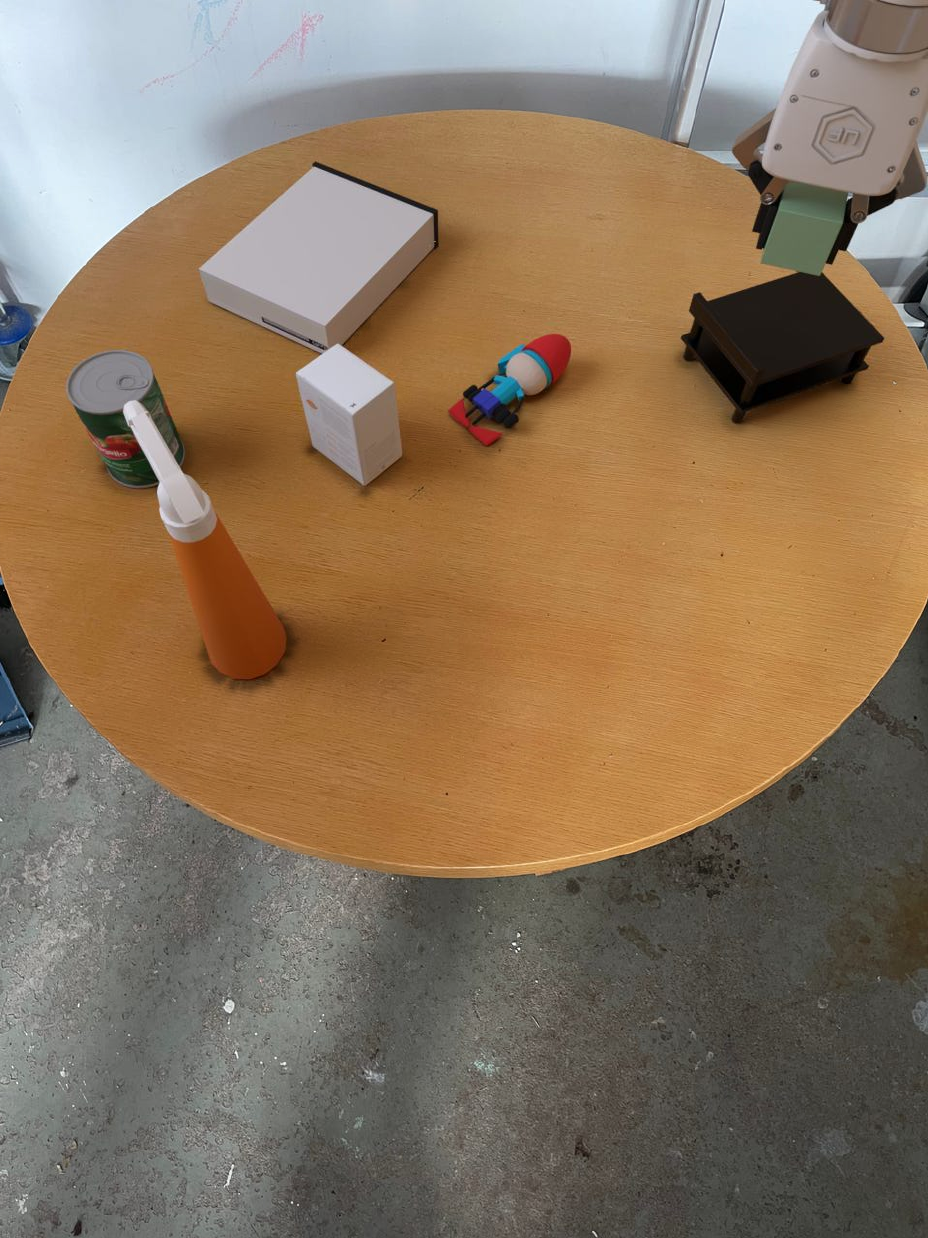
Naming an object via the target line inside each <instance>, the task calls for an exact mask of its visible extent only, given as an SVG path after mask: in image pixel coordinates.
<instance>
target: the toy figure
mask: <svg viewBox="0 0 928 1238" xmlns="http://www.w3.org/2000/svg"><path fill="white" fill-rule="evenodd" d="M571 355H572V345H571V342H570V340H569V339H568V338H567V337H566V336H565V335H563V334H560V333H551V334H544V335H542V336H539V337H537V338H535V339H533V340H532V341H531V342H528V343H527V344H526V345H525V344H522V343H521V344H520V345H518V346H517V347H515V348H513V349H512V350H511V351H510V352H508V353H507V354H505V355H504V356H502V357H500V359H499V360H498V362H497V369H498V373H499V375H498V374H495V376H494V377H492V378H491V379H490V380H489V379H488V381H486V382H485V383H483V384H482V385H481V386H479V387H478V385H476V384H471V385H470V386H469V387H468V388H467V389H465V390H464V391H463V392H462V398H461V399H459V400H458V401H457V402H456V403H454V404H453V405H452V406H451V407H450V408H449V409H448V413H449V414H450V415H451V416H452V417H453V418H454V419H455V420H456V421H457V422H458V423H459V424H461V425H463V426H464V427H466V428H468V430H469V432H470V433H471V434H472V435H473V436H474V438H476V439H477V440H478V441H479V442H480V443H482V444H483V445H484V446H486V447H487V446H489V445H491V444H493V443H494V442H495V441H496V440H497V439H499V438H500V437H501V436H502V435H503V434H504V432H503V431H502V432H500V431H495V430H491V429H487V428H483V427H479V426H477V424H478V423H479V422H480V421H482V420H483V419H484V418H485V417H486V418H488V419H489V420H490V419H492V418H494V419H495V421H496V423H497V424H500V425H503V427H504V428H505V429H507V430H511V429H512V428H513V427H514V426H516V425H517V424H518V423H519V420H520V419H519V418H520V417H519V415H518V414H516V413H519V411H520V409H521V407H522V405H523V403H524V401H525V399H526V398H525V396H532V395H537V394H539V393H541V392H542V391H544V389H547V388H549V386H552V385H553V384H554V383H555V382H556V381H557V380H558V379H559V378H560V377H561V376H562V374H563V373H564V371H565V370H566V368H567V367H568V365H569V362H570V359H571ZM503 374H504V376H502V375H503ZM493 383H494V385H497V386H495V387H494V388H492V390H491V391H489V390H488V389H486V388H488V387H489V386H490V385H492V384H493ZM516 398H517V399H518V401H519V402H518V404H517V406H516V408H515V410H513V411H512V412H511V410H510V409H509V408H508V406H507V405H509V404H510V403H511V402H512V401H513V400H514V399H516ZM465 399H467V401H468V402H470V403H472V405H473V407H472V408H471V409H469V411H467V410H466V408H465ZM475 411H479V412H480V413H481V414H479V416H478V417H476V418H475V419H474V420H473V421H472V422H471V425H470V421H469V417H470V416H471V415H472V414H473V413H474V412H475Z"/></svg>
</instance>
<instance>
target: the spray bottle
mask: <svg viewBox="0 0 928 1238" xmlns="http://www.w3.org/2000/svg"><path fill="white" fill-rule="evenodd" d="M123 413H124V416H125V419H126V421H127V424H128V426H129V427H131V429H132V431H133V433H134V435H135V437H136V439H137V441H138V443H139V445H140V447H141V448H142V450H143V452H144V454H145V455H146V457H147V459H148V461H149V463H150V465H151V467H152V468H153V470H154V472H155V474H156V476H157V478H158V480H159V481H160V483H159V485H157V491H156V494H157V500H158V503H159V510H158V512H159V515H160V518H161V521H162V523H163V525H164V526H165V528H166V530H167V533H168V537H169V540H170V542H171V545H172V548H173V552H174V555H175V557H176V558H175V559H176V561H177V564H178V567H179V570H180V573H181V577H182V579H183V582H184V586H185V588H186V591H187V595H188V597H189V600H190V603H191V607H192V610H193V613H194V615H195V618H196V621H197V624H198V628H199V630H200V634H201V636H202V640H203V643H204V646H205V648H206V652H207V654H208V658H209V661H210V664H211V665H212V666H213V667H214V668H215V669H216V670H217V671H218V672H219V673H220V674H222V675H224V676H226V677H229V678H231V679H234V680H252V679H255V678H258V677H260V676H264V675H266V674H267V673H268V672H270V671H271V670H273V669H274V668H275V667H276V666H278V664H279V662H280V661H281V659H282V657H283V656H284V654H285V652H286V648H287V647H286V646H287V640H288V637H287V634H286V631H285V628H284V626H283V624H282V621H281V620H280V618H279V616H278V615H277V613H276V611H275V610H274V608H273V606H272V605H271V602H270V601H269V600H268V598H267V597H266V595H265V592H264V591H263V589H262V588H261V586H260V584H259V583H258V581H257V580H256V578H255V576H254V574H253V573H252V571H251V569H250V567H249V566H248V564H247V562H246V561H245V559H244V557H243V556H242V553H241V552H240V551H239V549H238V546H237V545H236V544H235V542H234V540H233V539H232V537H231V535H230V534H229V532H228V531H227V529H226V527H225V525H224V524H223V521H222V520H221V518H220V517H219V515H218V514H217V512H216V511H215V509H214V505H213V504H212V502H211V501H212V500H211V498H210V496H209V495H208V494H207V493H206V492H205V491H204V490H203V489H201V486H200V484H198V482H197V481H196V480H195V479H194V478H193V477H192V476H191V475H189V474H185V473H184V472H183V470H182V469H181V468H180V467H179V465H178V464H177V462H176V460H175V458H174V457H173V455H172V453H171V451H170V450H169V448H168V446H167V444H166V443H165V441H164V439H163V437H162V436H161V434H160V432H159V430H158V429H157V427H156V425H155V424H154V422H153V420H152V418H151V417H152V416H151V415H150V414H149V412H148V411H147V410H146V409H145V407H144V406H143V405H142V404H141V403H139V402H138V401H136V400H134V401H129V402H128V403H126V404H125V405H124V409H123Z"/></svg>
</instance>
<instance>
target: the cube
mask: <svg viewBox="0 0 928 1238" xmlns="http://www.w3.org/2000/svg"><path fill="white" fill-rule="evenodd" d="M848 197H849V193H848V192H843V191H838V190H832V189H827V188H822V187H817V186H812V185H808V184H803V183H798V182H793V181H789V182H788V184H787V185H786V186H785V188H784V189H783V191H782V196H781V200H780V204H779V208H778V211H777V214H776V217H775V220H774V223H773V225H772V228H771V231H770V234H769V237H768V239H767V242H766V245H765V248H764V249H763V248H762V253H761V256H760V261H759V263H760V264H762V265H766V266H770V267H777V268H780V269H785V270H790V271H793V272H803V273H808V274H813V275H817V276H820V275H821V272H822V273H823V270H824V268H825V266H826V261H827V259H828V256H829V254H830V252H831V249H832V247H833V245H834V243H835V240H836V238H837V236H838V233H839V231H840V229H841V227H842V224H843V220H844V214H845V209H846V203H847V200H848V199H849V198H848Z"/></svg>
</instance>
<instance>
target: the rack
mask: <svg viewBox="0 0 928 1238" xmlns="http://www.w3.org/2000/svg"><path fill="white" fill-rule="evenodd" d="M688 311H689V313H690V314H691V316H692V317H693V322H692V324H691V328H690V331H689V332H686V333H683V334H681V336H680V340H681V341H682V342H683V343H684V345H685V348H684V352H683V355H682V358H683V360H684V361H686V362H692V361H694V359H696V360H697V362H698V363H699V364H700V365H701V367H703V369H704V370H705V372H706V373H707V374H708V375H709V377H710V378H711V379H712V380H713V381H714V383H715V384H716V385H717V387H718V388H719V389H720V390H721V392H722V393H723V394H724V395H725V396H726V398H727V400H728V401H729V402H730V403H731V404H732V406H733V407H734V408H735V409H734V411H733V414H732V416H731V421H732V422H733V423H734V424H736V425H740V424H742V423H743V422H744V419H745V417H746V415H747V413H749V412H752V411H754V410H756V409H759V408H762V407H765V406H768V405H770V404H771V405H772V404H774V403H776V402H779V401H782V400H784V399H788V398H791V397H793V396H796V395H799V394H802V393H805V392H808V391H811V390H812V389H816V388H818V387H819V388H820V387H821V386H825V385H827V384H830V383H833V382H835V381H839V380H840V382H841V384H843V385H845V386H850V385H851V384H852V383H853V381H854V379H855V378H856V376H857V374H859V373H861V372H864V371H867V370H868V369H869V367H870V365H869V364H868V363H867V362H866V360H865V359H866V358H867V356H868V354H869V352H870V351H871V349H872V347H873V346H877V345H878V344H882V343H883V342H884V340H885V337H884V335H882V334H881V332H879V330H878V329H877V328H876V327H875V326H874V325H873V324H872V323H871V322H870V321H869V319H867V318H866V317H865V315H863V314H862V312H861V311H859V309H858V308H857V307H856V306H855V305H854V304H853V303H852V302H851V301H850V300H849V299H848V298H847V297H846V296H845V295H844V294H843V292H841V290H840V289H839V288H838V287H837V286H836V285H835V284H834V283H833V282H832V281H831V280H830V278H828V277H827V276H826V275H825V273H824V272H823V271H822V272H821V275H820V276H817V275H813V274H808V273H803V272H799V271H796V272H795V273H790V274H788V275H784V276H782V277H779V278H776V279H773V280H770V281H766V282H763V283H760V284H757V285H754V286H751V287H747V288H744V289H741V290H738V291H735V292H732V293H728V294H725V295H722V296H719V297H716V298H712V299H710V300H707V299H706V298H705V296H704V295H703V293H701V292H696V293H693V296H692V299H691V301H690V305H689V309H688Z"/></svg>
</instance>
